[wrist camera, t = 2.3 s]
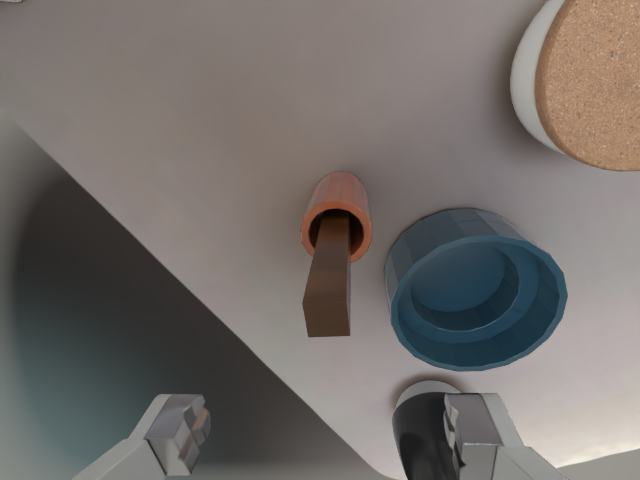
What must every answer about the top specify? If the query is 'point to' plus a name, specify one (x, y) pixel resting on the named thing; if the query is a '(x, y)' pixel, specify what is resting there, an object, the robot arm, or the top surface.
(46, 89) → the top surface
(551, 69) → the lidded bowl
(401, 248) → the mixing bowl
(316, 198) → the pot
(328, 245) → the stirring stick
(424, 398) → the black rounded egg shape
